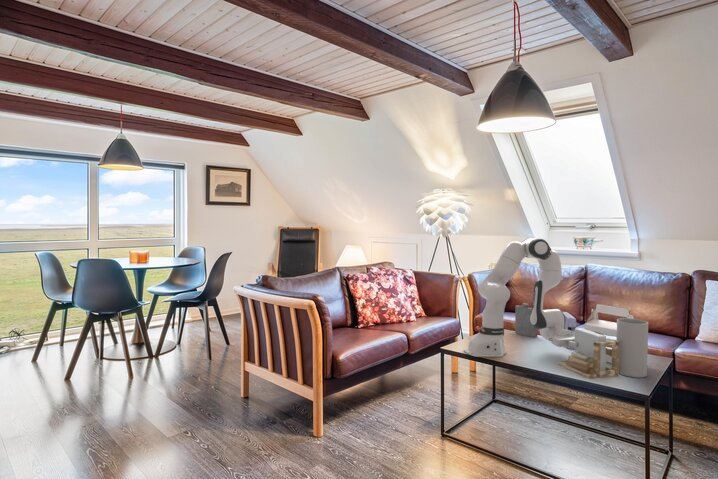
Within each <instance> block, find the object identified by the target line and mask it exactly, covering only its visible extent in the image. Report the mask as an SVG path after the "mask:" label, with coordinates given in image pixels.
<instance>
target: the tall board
mask: <svg viewBox="0 0 718 479" xmlns="http://www.w3.org/2000/svg"><path fill="white" fill-rule="evenodd" d="M601 341H607V335H601V334H598V333H595V332H592V331H589V330H585V328H582V327H581V328H579V327H578V328H576V329H575V342H577V343H578V344H579V346H577V347H574V349H573V350H574V351H573V352H582V353H585V354H587V355H590V356H592V357H593V355H594V342H601ZM606 348H607V346H601V353H600V371H605V365H606V363H607V362H606Z"/></svg>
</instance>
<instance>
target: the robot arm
mask: <svg viewBox="0 0 718 479" xmlns="http://www.w3.org/2000/svg"><path fill="white" fill-rule="evenodd" d="M525 258H529V259H530V258H531V259H536V261H538V265H539V274H538V279H537V280H536V281H535V283H534V287H533V293H532V304H531V305H532V306H531V308H532V311H531V314H530V322H531V324H532V325H533V326H534V327H535V328H537V330H539V335H541V337H542V338H544V339H545V340H547V341H549V342H551V344H552V345H554V346H556V347H563V348H566V347H567V346H575V347H577V346H579V344H578V343H577V342H575V331H571V330H566V329H564V327H565V323H566V318H565V315H564V314H563V312H564V311H562V310H561V309H560V308H551V309H544V298H545V297H544V296H545V294H546V293H547V292H548V291H549V290H551V289H552V288H554V287H556V286H558V285H559V284H560V283H561V281H562V279H563V278H562V276H563V275H562V274H563V272H562V271H563V270H562V263H561V259H560V255H559V253H558V252H557V251H556V250H553V249H552V248H551V247H550V245H549V243H548V241H546V240H545V239H543V238H540V237H537V238H536V237H531V238H527V239H525V240H523V241H521V242H520V241H511V242H509V243H508V245H507V246H506V247H505V249H504V250H503V252H501V255H500V256H499V258H498V260H497V262H496V263H495V265H494V267H493V269H492V270H491V271H490V272H489V273H488V274H487V276H486V277H485V278H484V279H483V280H481V281H480V282H479V283H478V285H477V291H478V294H479V295H480V296H481V297H482V298H483V299H485V300H486V302H485V303H486V304H485V306H484V309H483V311H482V325H481V326H479V325H476V327H475V329H476V330H477V331H479V332H478V333H477V334H475V335H474V336H473V337H472V338H470V339H469V341H468V344H467V347H465V348H463V351H464V353H465V354H467V355H470V356H473V357H477V358H481V357H483V358H486V357H488V358H489V357H490V358H491V357H493V358H496V357H498V358H499V357H504V355H506V354H507V350H506V347H505V340H504V338H505V337H504V336H505V327H504V319H505V318H504V317H505V316H504V314H505V308H506V305H507V302H508V301H509V300H510V298H511V291H510V289H509V288H508V286H506V284H507V283H508V282H509V281H510V280H511V279H513V278H514V276H515V274H516V272H517V271H518V269H519V267H520V265H521V263H522V262H523V260H524V259H525Z"/></svg>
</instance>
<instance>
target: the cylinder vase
mask: <svg viewBox="0 0 718 479" xmlns="http://www.w3.org/2000/svg"><path fill="white" fill-rule="evenodd" d="M616 323H617V337H616V341H619V371H618V375H621V376H625V377H628V378H636V379H639V378H640V379H641V378H642V379H643V378H646V377H647V375H648V351H649V346H648V345H649V343H648V342H649V321H646V320H642V319H639V318H638V319H637V318H634V319H629V318H627V317H622V318H621V317H620V318H617V319H616Z"/></svg>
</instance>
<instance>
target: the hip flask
mask: <svg viewBox="0 0 718 479" xmlns="http://www.w3.org/2000/svg"><path fill="white" fill-rule="evenodd" d="M529 306H530V304H529V303H525V302H524V303H522V305H515V308H514V309H515V314H514V316H515V317H514V318H515V322H514V323H515V324H514V326H515V327H514V330H515V331H514V332H515V334H518V335H521V336H522V335H523V336H526V337H531V338H538V329H537V328H535V327H534V326H533V325H532V324H531V322H530V314H531V311H532V307H529Z"/></svg>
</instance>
